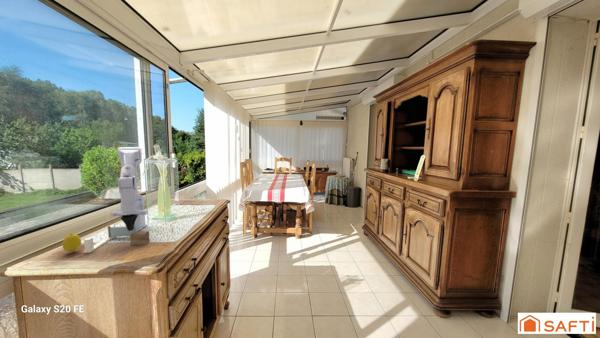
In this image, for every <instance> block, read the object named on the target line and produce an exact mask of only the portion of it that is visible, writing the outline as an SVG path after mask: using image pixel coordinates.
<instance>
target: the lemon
mask: <svg viewBox="0 0 600 338" xmlns="http://www.w3.org/2000/svg"><path fill="white" fill-rule="evenodd" d="M61 245H62V249H63V250H64V251H66V252H68V253H69V252H70V253H75V252H76V251H77V250H78V249H80V247H81V246H82V239H81V237H80V235H78V234H74V233H70V234H68V235H66V236H65V237H64V238H63V239H62V243H61Z"/></svg>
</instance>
